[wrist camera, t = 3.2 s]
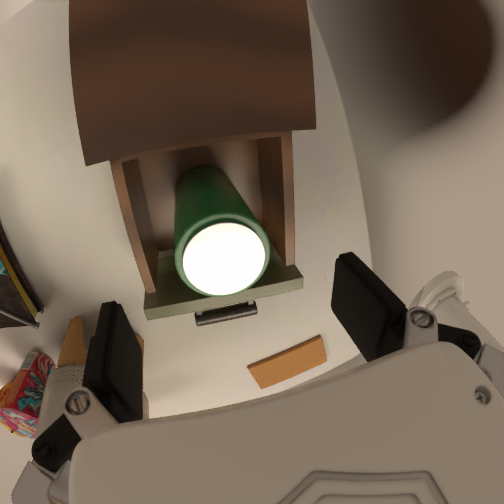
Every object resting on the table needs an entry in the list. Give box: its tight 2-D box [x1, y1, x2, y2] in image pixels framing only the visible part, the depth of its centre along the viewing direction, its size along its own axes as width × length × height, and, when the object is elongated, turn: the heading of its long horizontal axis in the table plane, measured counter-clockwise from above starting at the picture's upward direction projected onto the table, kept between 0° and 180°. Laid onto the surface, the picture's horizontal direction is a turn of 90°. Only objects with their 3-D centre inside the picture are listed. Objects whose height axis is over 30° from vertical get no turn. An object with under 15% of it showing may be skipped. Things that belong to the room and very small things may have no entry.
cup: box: [0, 351, 55, 439], centre depth 27 cm, size 9×8×12 cm
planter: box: [35, 317, 149, 440], centre depth 26 cm, size 13×13×18 cm
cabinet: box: [69, 0, 316, 166], centre depth 16 cm, size 15×15×10 cm
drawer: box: [109, 131, 303, 326], centre depth 24 cm, size 18×13×8 cm
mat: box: [248, 336, 327, 389], centre depth 43 cm, size 12×7×1 cm, turn 109°
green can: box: [174, 165, 270, 297], centre depth 20 cm, size 5×5×12 cm
